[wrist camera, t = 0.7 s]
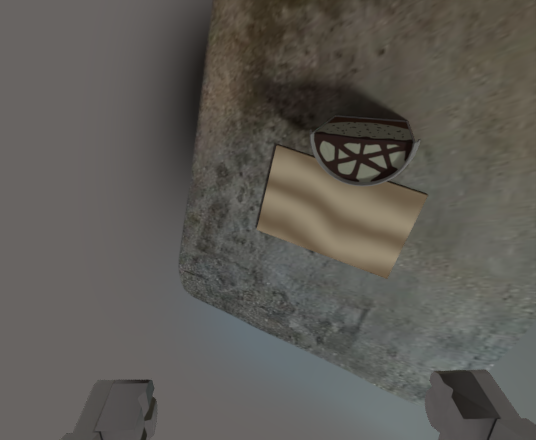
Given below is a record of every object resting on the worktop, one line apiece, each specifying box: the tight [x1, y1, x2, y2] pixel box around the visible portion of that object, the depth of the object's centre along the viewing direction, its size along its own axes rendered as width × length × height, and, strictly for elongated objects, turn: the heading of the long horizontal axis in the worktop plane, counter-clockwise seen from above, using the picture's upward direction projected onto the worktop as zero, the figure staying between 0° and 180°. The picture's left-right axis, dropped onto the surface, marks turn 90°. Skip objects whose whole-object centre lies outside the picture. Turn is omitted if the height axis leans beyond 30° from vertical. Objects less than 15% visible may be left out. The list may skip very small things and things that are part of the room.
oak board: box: [257, 145, 428, 279], centre depth 59 cm, size 15×22×1 cm
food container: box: [310, 115, 420, 187], centre depth 48 cm, size 12×6×10 cm, turn 90°
